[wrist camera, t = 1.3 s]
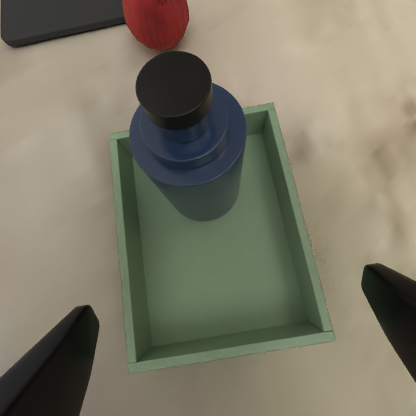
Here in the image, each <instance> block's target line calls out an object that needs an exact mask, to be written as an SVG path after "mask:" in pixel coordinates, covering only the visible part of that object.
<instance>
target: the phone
mask: <svg viewBox="0 0 416 416" xmlns="http://www.w3.org/2000/svg"><path fill="white" fill-rule="evenodd" d="M125 22H126V21H125V16H124V11H123V5H122V0H1V38H2V39H3V41H4V42H5V43H6V44H7V45H9V46H19V45H24V44H28V43H33V42H38V41H42V40H47V39H52V38H56V37H61V36H65V35H70V34H75V33H79V32H84V31H89V30H93V29H98V28H102V27H107V26H112V25H116V24H121V23H125Z"/></svg>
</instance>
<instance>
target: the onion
mask: <svg viewBox="0 0 416 416" xmlns="http://www.w3.org/2000/svg"><path fill="white" fill-rule="evenodd" d="M122 5H123V11H124V16H125V21H126V24H127V26H128V27H129V29H130V31H131V32H132V34H133V35H134V37H135V38H136V39H137V40H138V41H140V42H141V43H143V44H144V45H146V46H147V47H149V48H152V49H157V50H168V49H170V48H172V47H174V46H175V45H176V44H177V43H178V42H179V41H180V39H181V38H182V37H183V35H184V33H185V30H186V27H187V24H188V22H189V10H188V5H187V0H122Z"/></svg>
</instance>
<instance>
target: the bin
mask: <svg viewBox="0 0 416 416" xmlns="http://www.w3.org/2000/svg"><path fill="white" fill-rule="evenodd" d="M242 110H243V112H244V115H245V118H246V124H247V136H246V144H245V151H244V158H243V166H242V173H241V180H240V188H239V194H238V198H237V200H236V202H235V204H234V205H233V207H232V208H231V209H230V210H229V211H228V212H227V213H226V214H225V215H223V216H221V217H220V218H217V219H215V220H211V221H195V220H191V219H189V218H186V217H185V216H183V215H182V214H181V213H179V212H178V211H177V210H176V209H175V207H174V206H173V205H172V204H171V203H170V202H169V200H168V199H167V198H166V197H165V196H164V195H163V194H162V192H161V191H160V190H159V189H158V188H157V187H156V185H155V184H154V183H153V182H152V181H151V180H150V178H149V177H148V176H147V175H146V174H145V173H144V172H143V170H142V169H141V168H140V167H139V165H138V164H137V162H136V161H135V159H134V157H133V155H132V152H131V148H130V143H129V131H130V130H128V131H123V132H118V133H112V134H109V138H110V151H111V163H112V176H113V188H114V200H115V212H116V224H117V237H118V249H119V261H120V273H121V285H122V298H123V310H124V322H125V334H126V346H127V359H128V371H129V374H131V373H137V372H143V371H150V370H156V369H162V368H168V367H175V366H181V365H187V364H193V363H200V362H206V361H212V360H218V359H225V358H231V357H237V356H243V355H250V354H256V353H262V352H268V351H275V350H281V349H287V348H293V347H300V346H306V345H312V344H318V343H325V342H331V341H336V339H335V335H334V332H333V328H332V324H331V320H330V317H329V313H328V309H327V305H326V301H325V298H324V294H323V290H322V286H321V282H320V279H319V275H318V271H317V267H316V263H315V259H314V256H313V252H312V248H311V244H310V240H309V237H308V233H307V229H306V225H305V221H304V217H303V214H302V210H301V206H300V202H299V198H298V195H297V191H296V187H295V183H294V179H293V175H292V172H291V168H290V164H289V160H288V156H287V153H286V149H285V145H284V141H283V137H282V133H281V130H280V126H279V122H278V118H277V114H276V111H275V107H274V103H268V104H262V105H257V106H252V107H247V108H242Z"/></svg>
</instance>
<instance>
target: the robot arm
mask: <svg viewBox="0 0 416 416" xmlns="http://www.w3.org/2000/svg"><path fill="white" fill-rule="evenodd" d="M361 286H362V290H363V292H364V294H365V296H366V298H367V300H368V302H369V304H370V306H371V308H372V310H373V312H374V314H375V316H376V318H377V320H378V322H379V324H380V325H381V327H382V329H383V331H384V333H385V335H386V337H387V338H388V340H389V342H390V343H391V345H392V346H393V348H394V350H395V351H396V353H397V354H398V356H399V357H400V359H401V360H402V362H403V364H404V365H405V367H406V368H407V370H408V371H409V373H410V374H411V376H412V377H413V379H414V381H415V382H416V281H414V280H412V279H410V278H408V277H406V276H404V275H402V274H400V273H398V272H396V271H394V270H392V269H390V268H388V267H386V266H384V265H382V264H379V263H375V264H368V265H366V266H365V267H364V270H363V276H362V282H361ZM98 332H99V321H98V319H97V317H96V315H95V313H94V311H93V309H92V307H91V306H90V305H83V306H78V307H76V308H74V309H73V310H72V311H71V312H70V313H69V314H68V315H67V316H66V317H65V318H64V319H62V320H61V321H60V322H59V323H58V324H57V325H56V326H55V327H54V328H53V329H52V330H51V331H50V332H49V333H47V334H46V335H45V336H44V337H43V338H42V339H41V340H40V341H39V342H38V343H37V344H36V345H35V346H34V347H33V348H31V349H30V350H29V351H28V352H27V353H26V354H25V355H24V356H23V357H22V358H21V359H20V360H19V361H18V362H16V363H15V364H14V365H13V366H12V367H11V368H10V369H9V370H8V371H7V372H6V373H5V374H4V375H3V376H1V377H0V416H79V414H80V411H81V407H82V404H83V400H84V397H85V393H86V390H87V386H88V383H89V379H90V375H91V370H92V365H93V360H94V354H95V349H96V343H97V338H98Z"/></svg>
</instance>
